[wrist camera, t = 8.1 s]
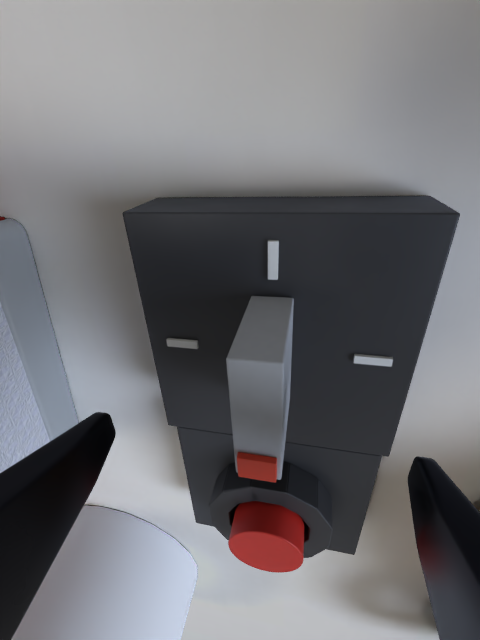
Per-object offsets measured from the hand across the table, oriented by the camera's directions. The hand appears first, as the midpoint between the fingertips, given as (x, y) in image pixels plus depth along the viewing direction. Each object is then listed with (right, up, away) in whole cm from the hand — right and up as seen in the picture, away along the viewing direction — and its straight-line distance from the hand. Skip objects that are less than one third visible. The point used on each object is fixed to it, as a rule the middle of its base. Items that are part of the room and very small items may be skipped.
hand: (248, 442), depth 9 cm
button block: (+2, -6, +12) cm, 14 cm away
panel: (+2, +4, +6) cm, 8 cm away
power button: (+1, -8, +9) cm, 12 cm away
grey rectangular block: (+1, +2, +4) cm, 5 cm away
